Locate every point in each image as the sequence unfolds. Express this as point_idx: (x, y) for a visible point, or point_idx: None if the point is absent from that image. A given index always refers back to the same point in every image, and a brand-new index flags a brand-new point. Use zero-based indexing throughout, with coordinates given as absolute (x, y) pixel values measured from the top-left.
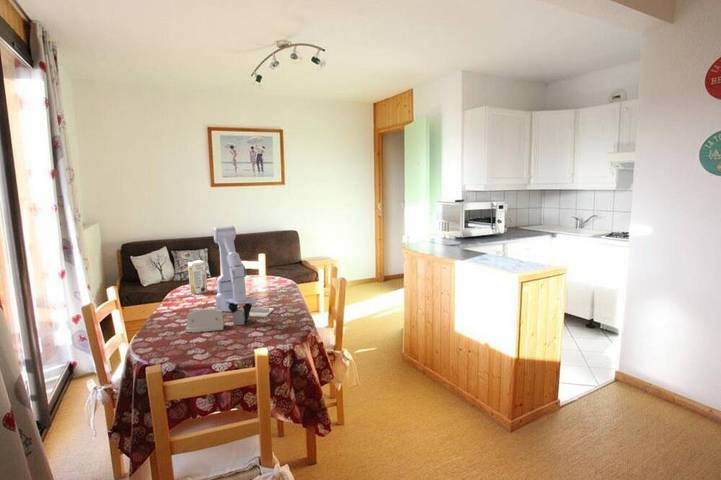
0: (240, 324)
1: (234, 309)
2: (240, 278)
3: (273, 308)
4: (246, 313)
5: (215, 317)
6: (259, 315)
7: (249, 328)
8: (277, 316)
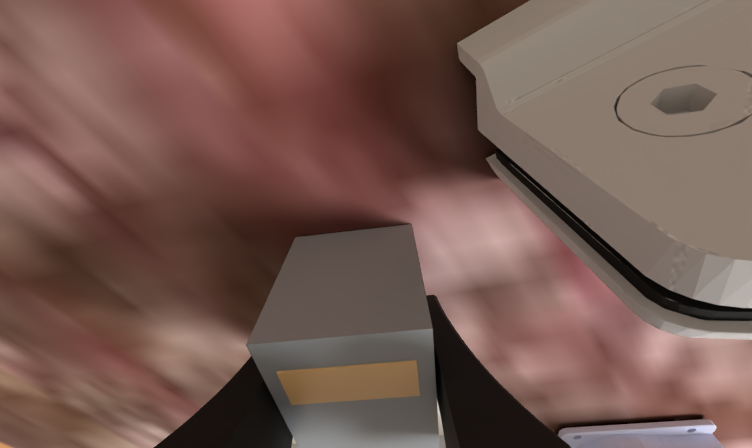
0: (326, 234)
1: (448, 422)
2: None
3: None
4: (242, 372)
5: (747, 98)
6: None
7: (146, 164)
8: (168, 415)
